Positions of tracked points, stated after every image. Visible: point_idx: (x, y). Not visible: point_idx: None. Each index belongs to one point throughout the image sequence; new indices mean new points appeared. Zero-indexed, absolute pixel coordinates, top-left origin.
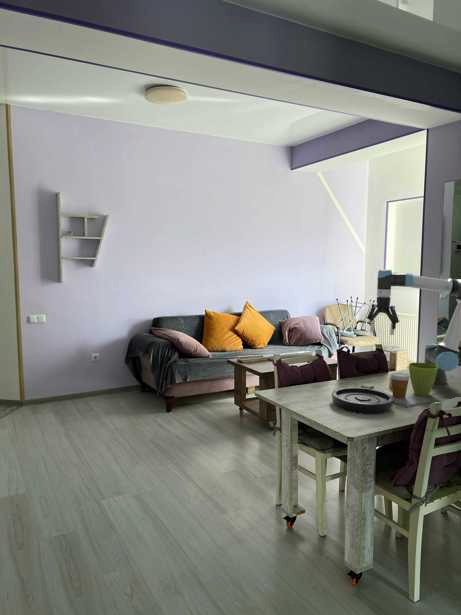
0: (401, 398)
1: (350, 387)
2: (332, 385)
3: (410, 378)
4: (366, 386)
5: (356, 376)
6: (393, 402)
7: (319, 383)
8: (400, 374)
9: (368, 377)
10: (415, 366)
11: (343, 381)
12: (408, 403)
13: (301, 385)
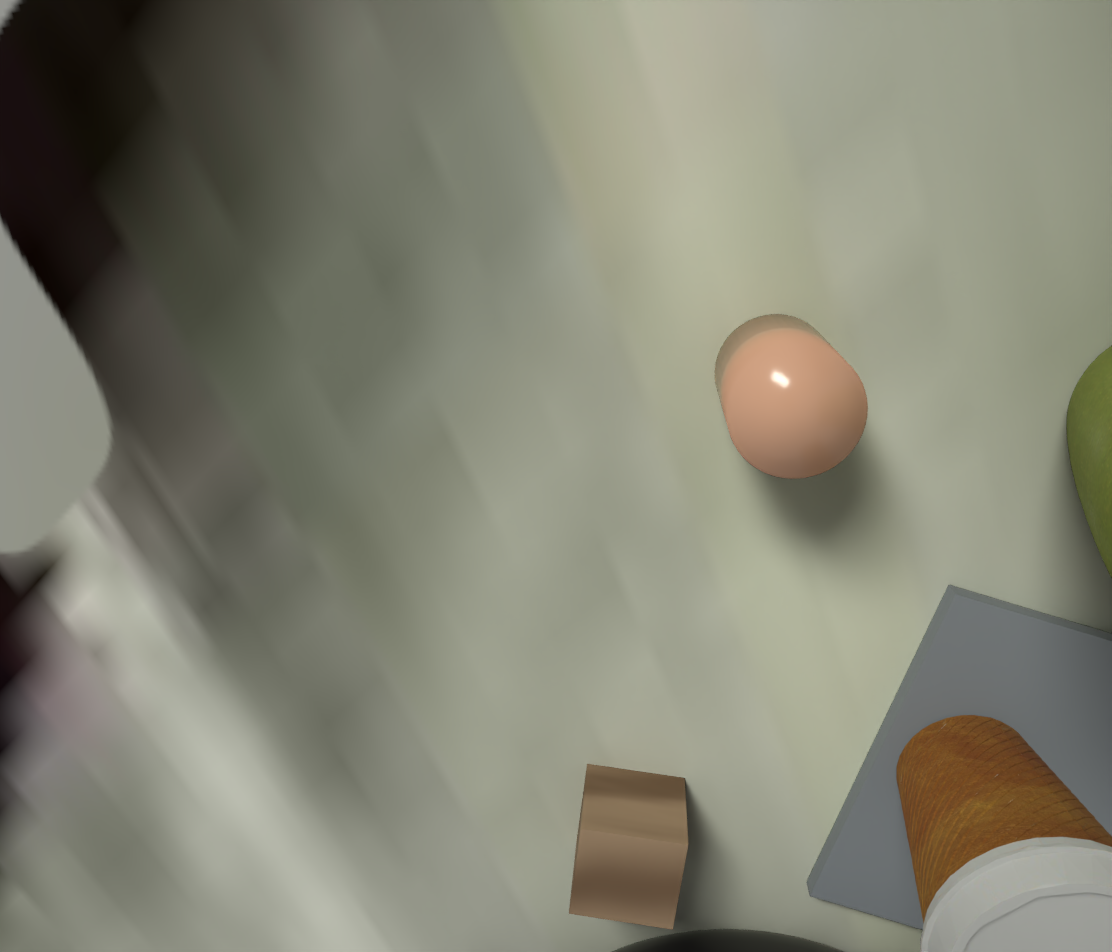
0: None
1: None
2: (202, 734)
3: (1098, 549)
4: (634, 915)
5: (133, 134)
6: None
7: (68, 749)
8: (1059, 931)
9: (276, 56)
10: None
11: (179, 507)
12: None
13: (14, 908)
